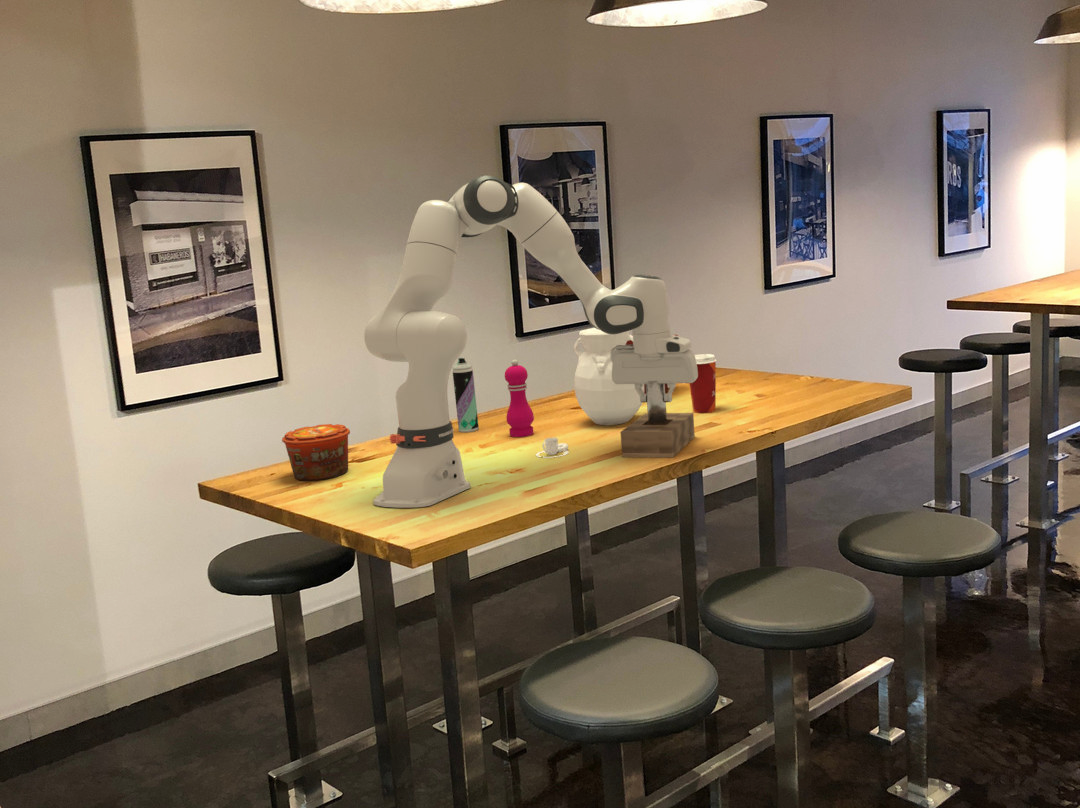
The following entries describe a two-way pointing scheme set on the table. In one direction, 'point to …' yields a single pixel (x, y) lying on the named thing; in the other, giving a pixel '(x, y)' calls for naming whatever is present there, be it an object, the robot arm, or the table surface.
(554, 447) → the teacup and saucer
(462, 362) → the spray can
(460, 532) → the table surface
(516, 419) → the pepper mill
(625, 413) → the pitcher
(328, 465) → the food container
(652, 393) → the pin
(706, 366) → the coffee cup
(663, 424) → the socket block
